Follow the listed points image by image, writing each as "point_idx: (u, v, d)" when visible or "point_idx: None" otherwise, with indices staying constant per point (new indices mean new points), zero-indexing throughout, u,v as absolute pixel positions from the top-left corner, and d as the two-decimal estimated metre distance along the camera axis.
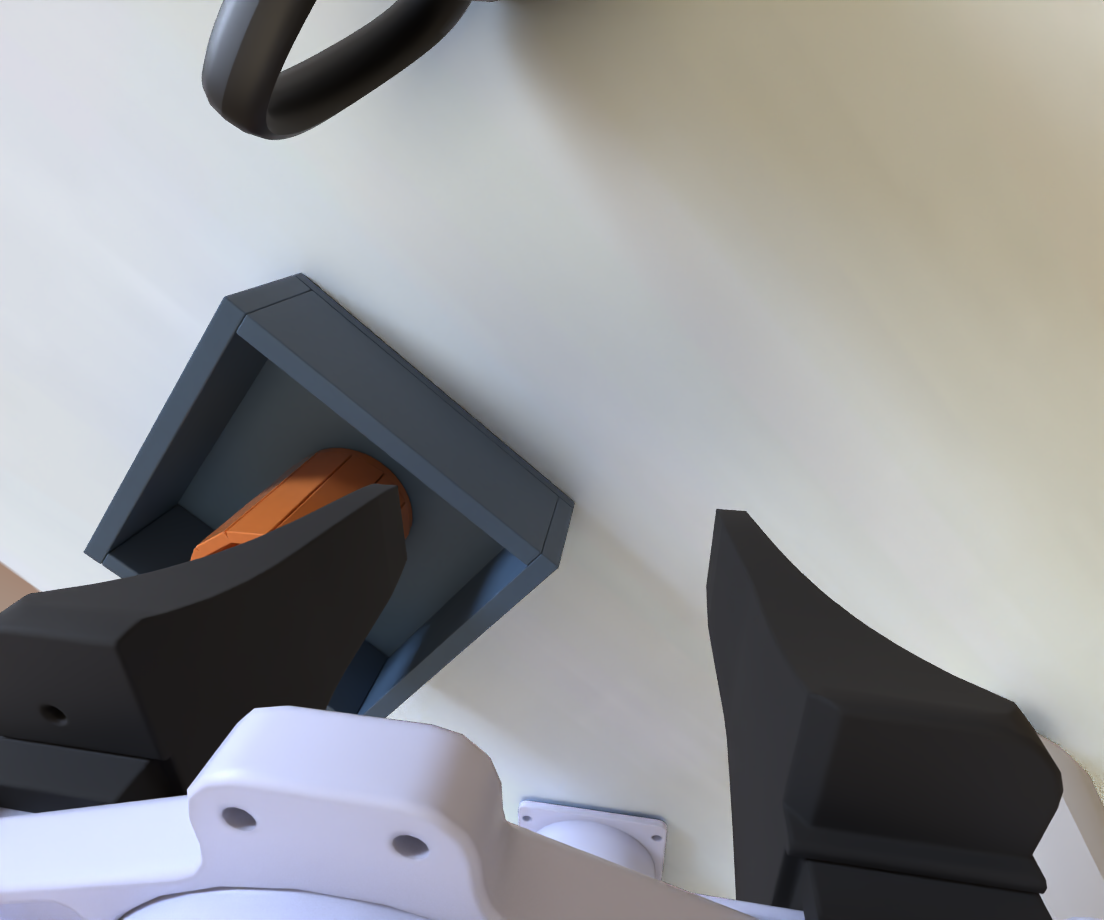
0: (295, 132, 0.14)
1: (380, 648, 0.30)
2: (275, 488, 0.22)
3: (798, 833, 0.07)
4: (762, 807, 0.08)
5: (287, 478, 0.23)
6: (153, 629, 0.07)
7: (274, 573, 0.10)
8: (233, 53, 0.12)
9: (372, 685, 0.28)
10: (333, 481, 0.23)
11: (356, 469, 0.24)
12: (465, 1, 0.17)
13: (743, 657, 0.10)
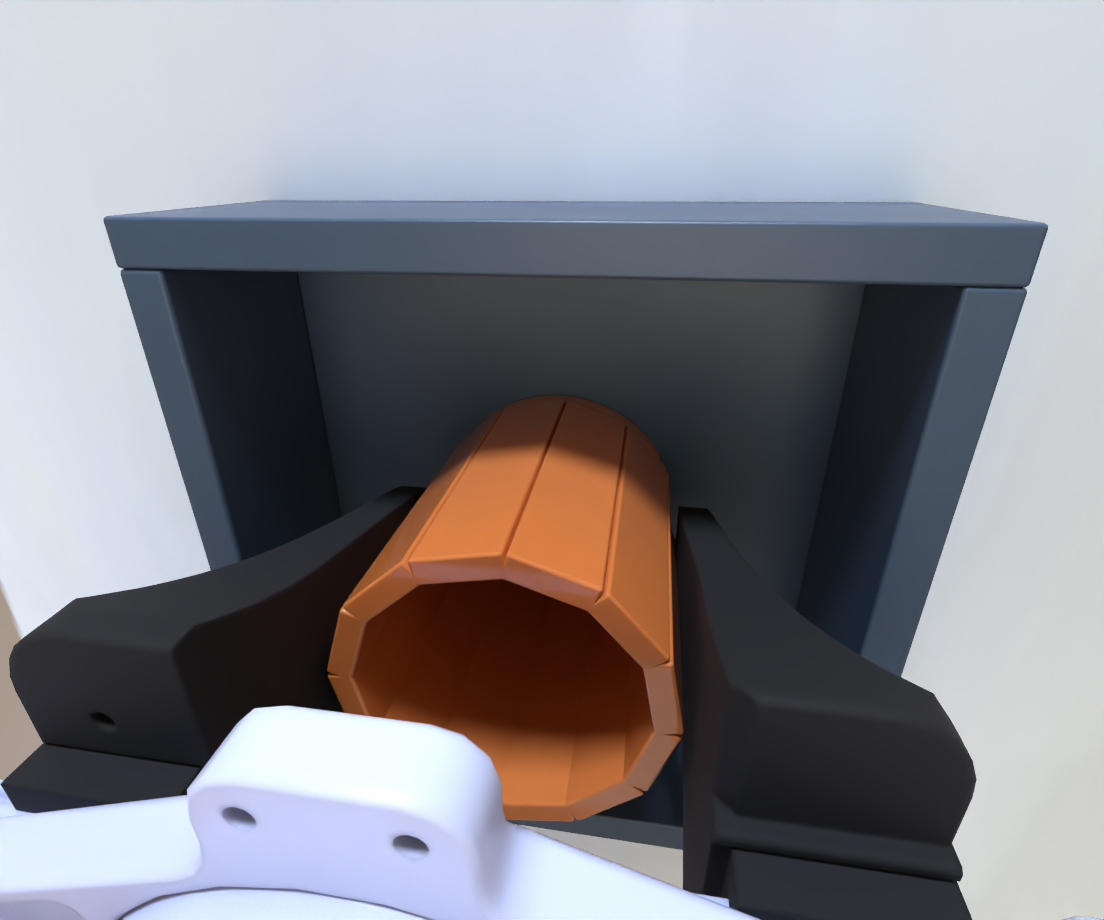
0: None
1: None
2: (616, 487, 0.11)
3: (724, 822, 0.07)
4: (700, 798, 0.08)
5: (620, 469, 0.11)
6: (205, 635, 0.07)
7: (314, 576, 0.10)
8: None
9: None
10: (671, 529, 0.12)
11: (672, 508, 0.13)
12: None
13: (693, 652, 0.10)
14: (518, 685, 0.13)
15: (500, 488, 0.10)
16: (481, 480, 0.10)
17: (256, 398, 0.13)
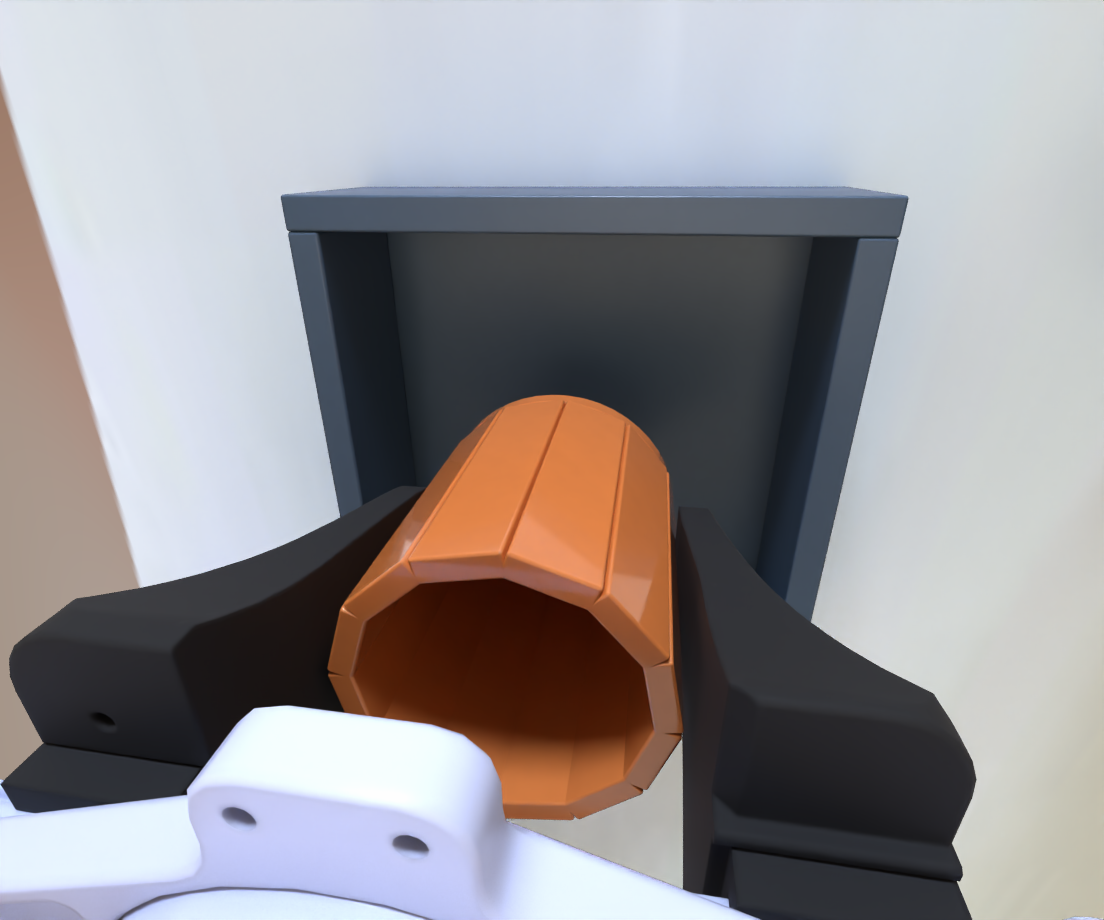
0: None
1: None
2: (616, 487, 0.11)
3: (724, 822, 0.07)
4: (700, 798, 0.08)
5: (620, 468, 0.11)
6: (205, 635, 0.07)
7: (314, 576, 0.10)
8: None
9: None
10: (671, 529, 0.12)
11: (672, 508, 0.13)
12: None
13: (693, 652, 0.10)
14: (518, 685, 0.13)
15: (500, 487, 0.10)
16: (481, 479, 0.10)
17: (363, 332, 0.17)
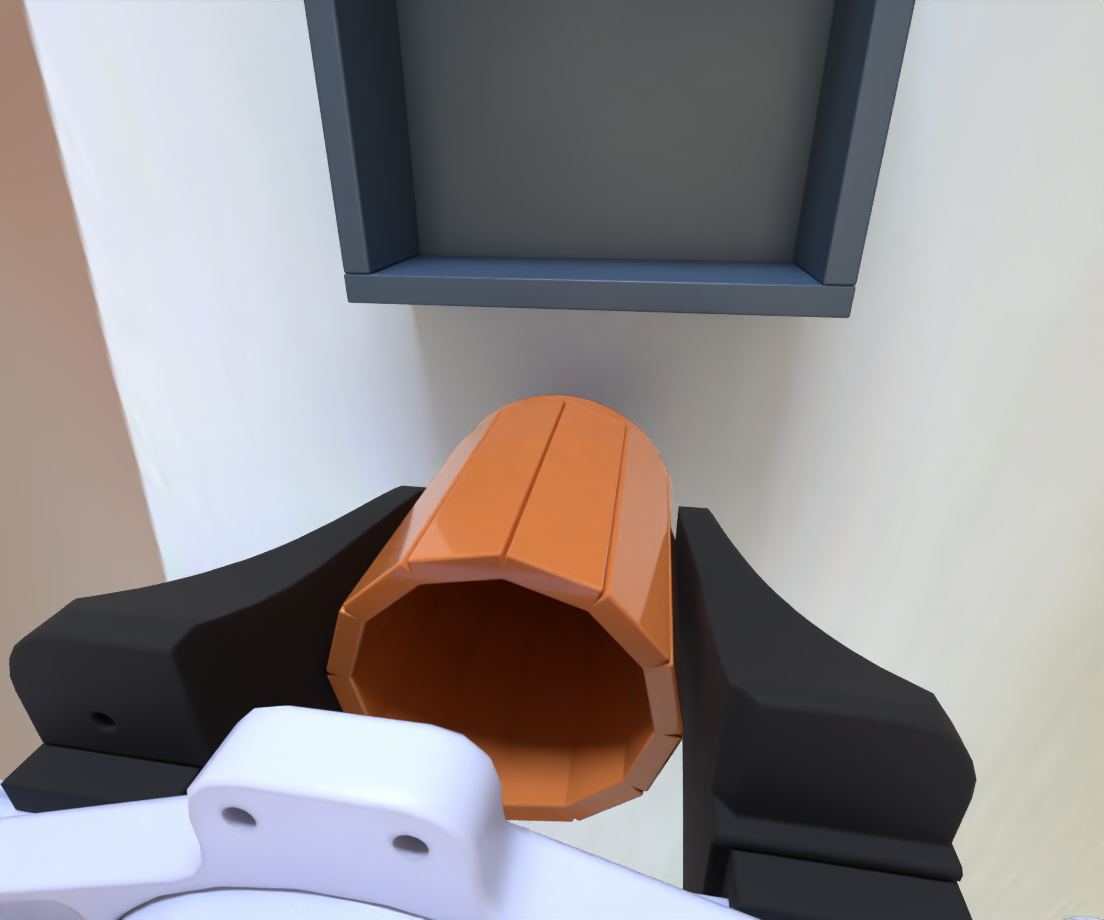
0: None
1: (421, 236, 0.20)
2: (616, 487, 0.11)
3: (723, 822, 0.07)
4: (700, 798, 0.08)
5: (620, 469, 0.11)
6: (204, 635, 0.07)
7: (314, 576, 0.10)
8: None
9: (398, 262, 0.19)
10: (671, 529, 0.12)
11: (672, 508, 0.13)
12: None
13: (693, 652, 0.10)
14: (518, 686, 0.13)
15: (500, 488, 0.10)
16: (481, 480, 0.10)
17: None
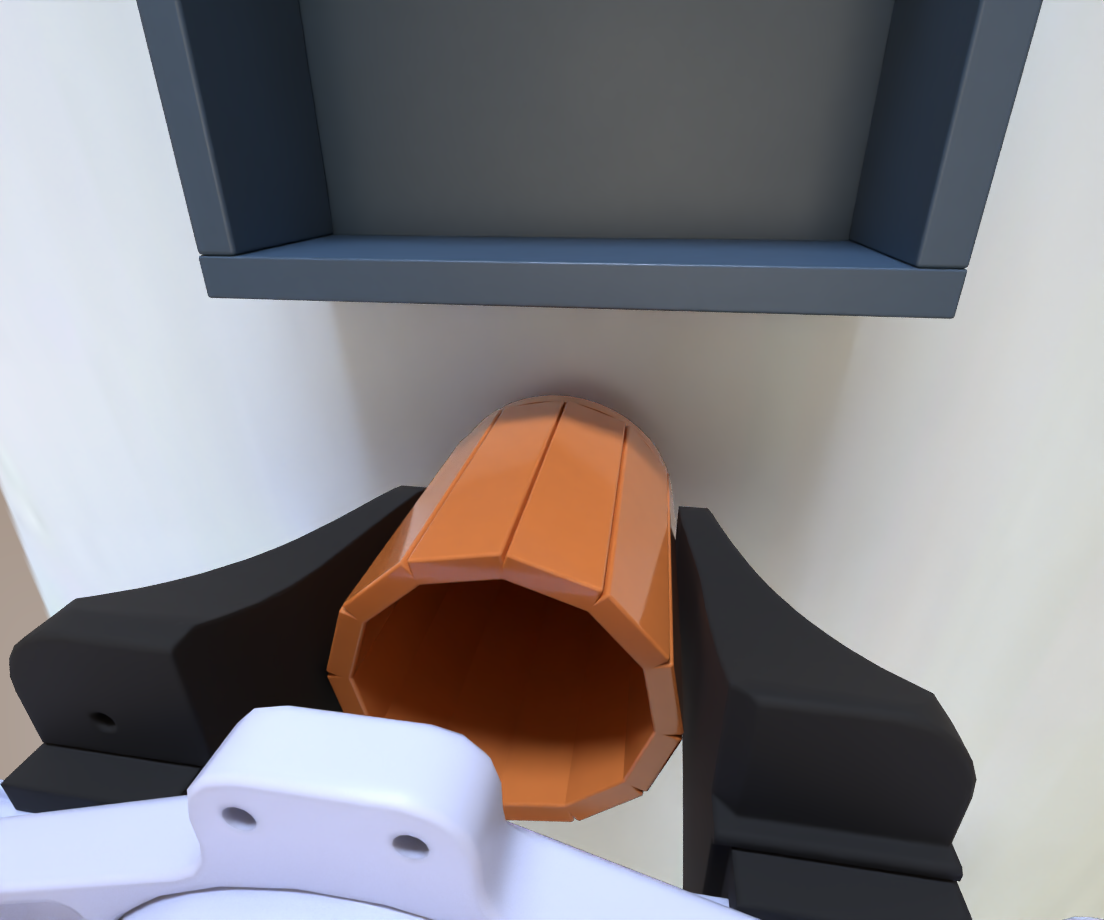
0: None
1: (335, 208, 0.15)
2: (616, 487, 0.11)
3: (723, 822, 0.07)
4: (700, 798, 0.08)
5: (620, 469, 0.11)
6: (205, 635, 0.07)
7: (315, 576, 0.10)
8: None
9: (294, 241, 0.13)
10: (671, 529, 0.12)
11: (672, 508, 0.13)
12: None
13: (693, 652, 0.10)
14: (518, 686, 0.13)
15: (500, 488, 0.10)
16: (481, 480, 0.10)
17: None
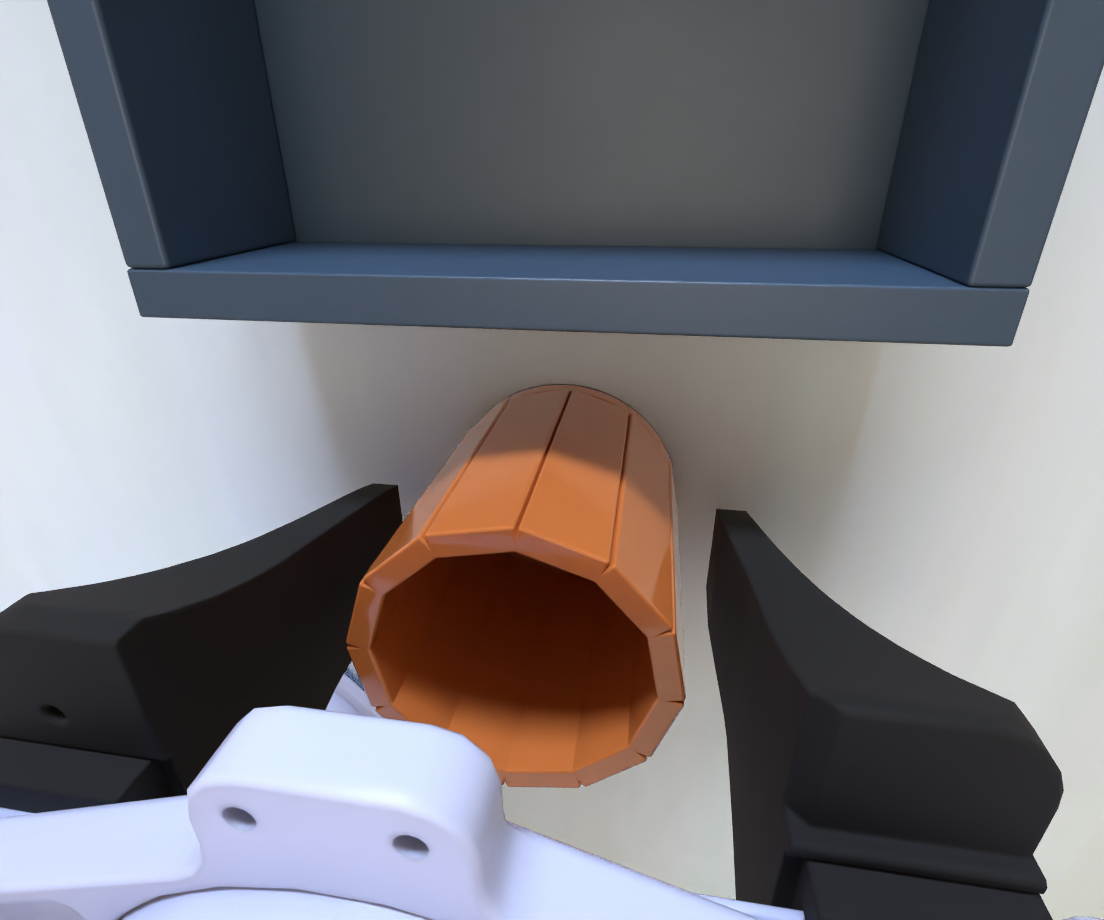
0: None
1: (297, 212, 0.13)
2: (621, 470, 0.11)
3: (798, 833, 0.07)
4: (762, 807, 0.08)
5: (624, 453, 0.12)
6: (153, 629, 0.07)
7: (274, 573, 0.10)
8: None
9: (246, 250, 0.12)
10: (673, 512, 0.13)
11: (674, 493, 0.14)
12: None
13: (743, 657, 0.10)
14: (526, 663, 0.13)
15: (510, 469, 0.10)
16: (492, 462, 0.11)
17: None
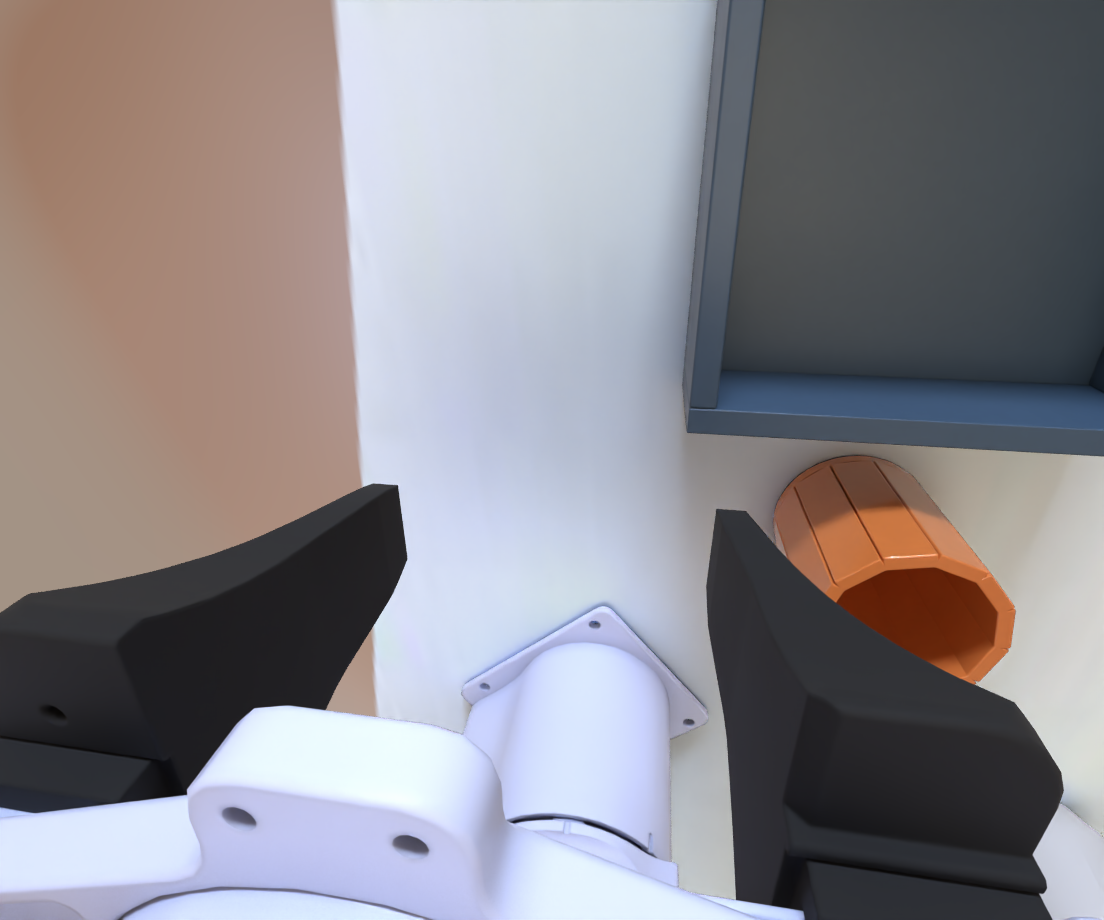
0: None
1: None
2: (944, 517, 0.19)
3: (798, 833, 0.07)
4: (762, 807, 0.08)
5: (935, 506, 0.20)
6: (153, 629, 0.07)
7: (274, 573, 0.10)
8: None
9: None
10: None
11: None
12: None
13: (743, 657, 0.10)
14: None
15: (896, 519, 0.18)
16: (876, 514, 0.19)
17: None
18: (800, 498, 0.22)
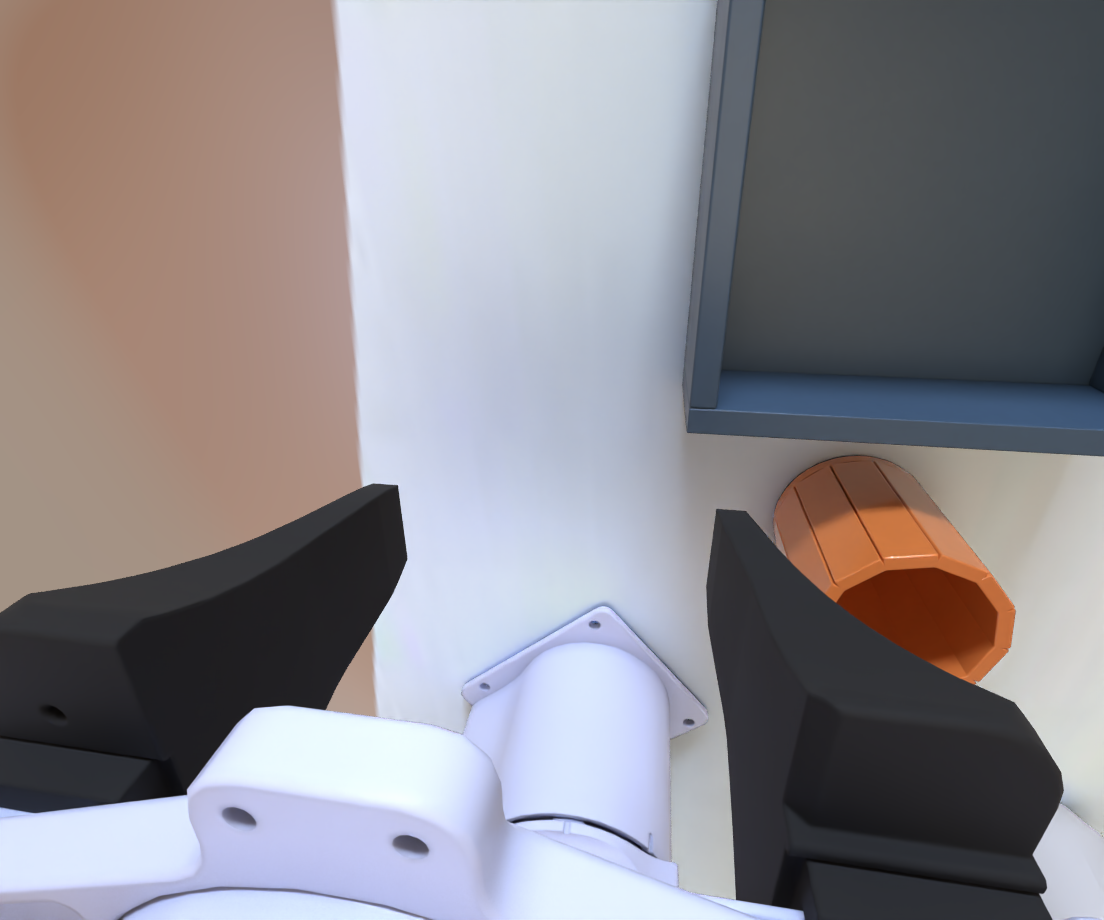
0: None
1: None
2: (944, 517, 0.19)
3: (798, 833, 0.07)
4: (762, 807, 0.08)
5: (935, 506, 0.20)
6: (153, 629, 0.07)
7: (274, 573, 0.10)
8: None
9: None
10: None
11: None
12: None
13: (743, 657, 0.10)
14: None
15: (896, 519, 0.18)
16: (876, 514, 0.19)
17: None
18: (800, 498, 0.22)
